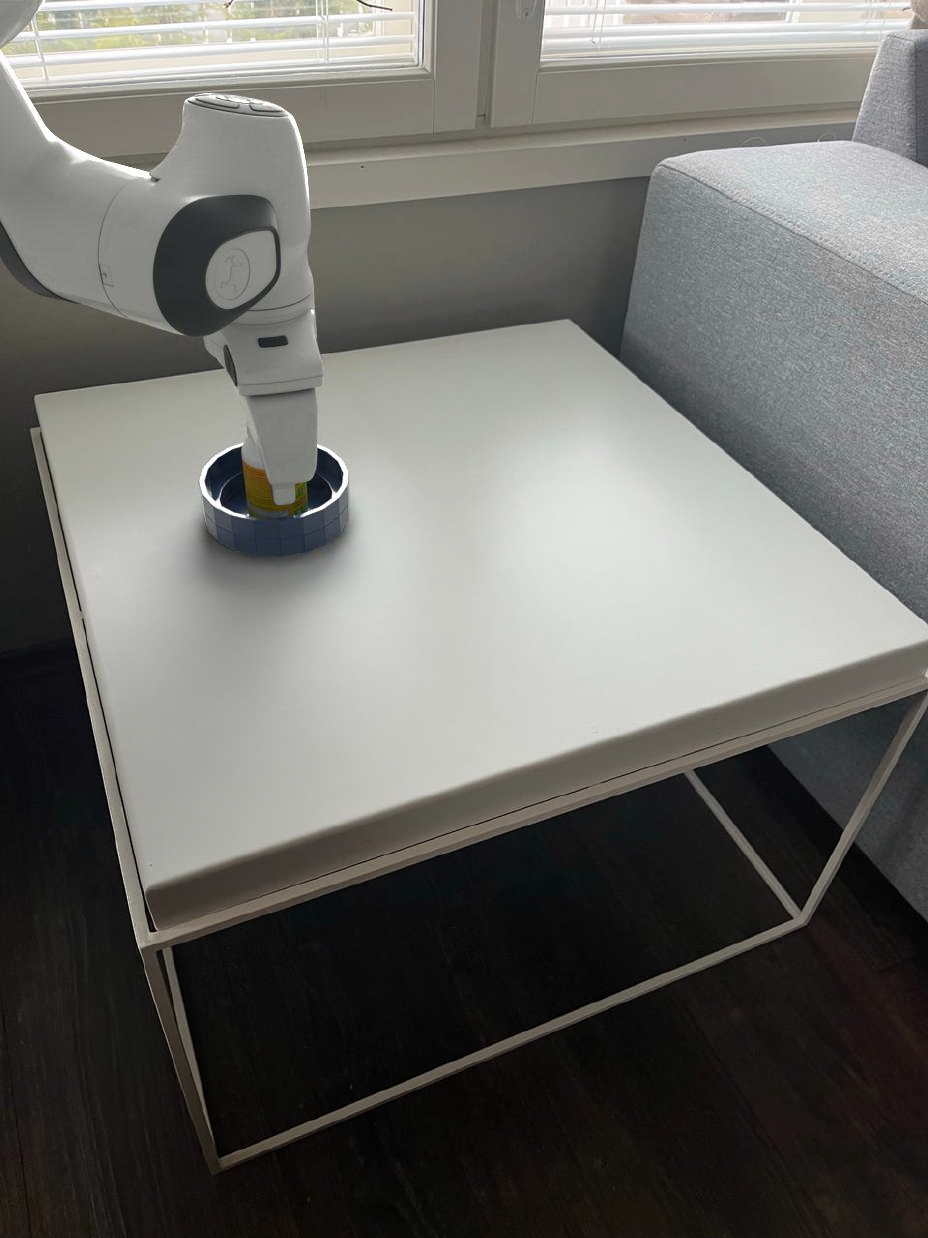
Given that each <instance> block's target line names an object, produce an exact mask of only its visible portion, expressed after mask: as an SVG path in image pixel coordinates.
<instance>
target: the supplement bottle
mask: <svg viewBox="0 0 928 1238" xmlns="http://www.w3.org/2000/svg"><path fill="white" fill-rule="evenodd" d="M245 423H246V434H247V437H246V438H245V439H244V441H243V442H242V443H243V445H242V463H243V471H244V479H245V488H246V497H247V506H248V512H249V515H250V516H251V517H260V518H281V517H287V516H293V515H299V514H303V513H305V512H308V500H307V483H306V482H302V483H296V484H295V497H296V499H295V501H294V502H293V503H291V504H286V505H276V504H275V502H274V499H273V496H272V493H271V485H270V483H269V481H268V479H267V476H266V473H265V470H264V467H263V465H262V462H261V459H260V456H259V454H258V451H257V448H256V445H255V443H254V440H253V437H252V435H251V432H250V429H249V426H248V424H247V421H246V420H245Z"/></svg>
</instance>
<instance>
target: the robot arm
mask: <svg viewBox="0 0 928 1238" xmlns="http://www.w3.org/2000/svg"><path fill="white" fill-rule="evenodd" d="M45 2H46V0H0V259H1V261H2V263H3V264H4V266H5V268H6V269H7V270H8V272H9V273H10V274H11V276H12V277H13V278H14V279H15V280H16V281H17V282H18V283H19V284H20V285H21V286H23V287H24V288H25V289H27V290H29V291H30V292H32V293H34V294H36V295H38V296H41V297H44V298H49V299H53V300H58V301H61V302H67V303H71V304H75V305H76V304H77V305H84V306H86V307H89V308H93V309H95V310H99V311H101V312H105V313H107V314H110V315H114V316H117V317H119V318H123V319H126V320H127V321H128V320H129V321H132V322H137V323H140V324H143V325H146V326H149V327H152V328H156V329H159V330H163V331H165V332H169V333H172V334H175V335H181V336H185V337H186V336H187V337H190V338H191V337H192V338H202V339H203V345H204V348H205V349H206V351H207V352H208V353H209V354H210V355H211V356H213V357H214V358H215V359H217V362H218V363H219V364H220V365H221V366H222V367H223V369H224V370H225V371H226V372H227V373H228V375H229V378H230V380H231V383H232V386H233V388H234V391H235V394H236V396H237V399H238V402H239V405H240V407H241V409H242V412H243V415H244V418H245V422H246V421H247V424H248V426H249V429H250V432H251V435H252V437H253V440H254V443H255V445H256V448H257V451H258V454H259V456H260V459H261V462H262V465H263V467H264V470H265V473H266V476H267V479H268V481H269V483H270V485H271V493H272V496H273V499H274V502H275V504H276V505H286V504H291V503H293V502H294V501H295V499H296V497H295V484H296V483H302V482H307V481H310V480H311V479H312V478H313V476H314V473H315V470H316V465H317V444H318V440H319V439H318V436H319V435H318V434H319V416H318V415H319V408H318V406H319V405H318V396H317V390H316V388H321V387H323V386H324V382H325V373H324V372H325V371H324V363H323V359H322V358H323V357H322V354H321V350H320V347H319V343H318V333H317V332H318V330H317V317H316V316H317V315H316V308H315V307H316V305H315V303H316V302H315V283H314V276H313V273H312V269H311V267H310V265H309V259H308V246H309V241H310V238H311V232H312V219H311V218H312V217H311V202H310V201H311V200H310V189H309V188H310V187H309V179H308V172H307V165H306V158H305V152H304V148H303V147H304V146H303V142H302V138H301V134H300V132H299V128H298V125H297V123H296V120H295V118H294V116H293V115H292V114H291V113H290V112H288V111H287V110H286V109H284V108H283V107H282V106H280V105H278V104H277V103H275V102H270V101H267V100H263V99H259V98H258V99H257V98H254V97H249V96H245V95H233V94H231V93H221V92H220V93H217V92H216V93H215V92H210V93H209V92H207V93H206V92H205V93H199V94H195V95H194V96H191V97H189V98H187V99H185V101H184V103H183V106H182V107H183V108H182V117H181V130H180V133H179V135H178V138H177V139H176V142H175V143H174V144H173V146H172V148H171V150H170V151H169V152H168V153H167V155H166V156H165V158H163V160H162V161H161V162H160V163H159V164H157V165H156V166H155V167H154V168H153V169H150V170H149V171H144V170H141V169H137V168H134V167H129V166H126V165H123V164H119V163H115V162H112V161H107V160H105V159H101V158H100V157H99V158H98V157H96V156H93V155H92V154H88V153H87V152H84V151H82V150H80V149H78V148H77V147H74V146H72V145H70V144H69V143H67V142H65V141H63V140H62V139H60V138H59V137H57V136H56V135H54V133H52V132H51V131H50V129H49V128H48V127H47V126H46V125H45V122H44V121H43V119H42V118H41V116H40V114H39V112H38V111H37V109H36V108H35V106H34V104H33V103H32V101H31V99H30V98H29V96H28V94H27V92H26V90H25V89H24V88H23V86H22V84H21V82H20V81H19V79H18V77H17V76H16V73H15V72H14V70H13V69H12V67H11V66H10V64H9V62H8V60H7V59H6V57H5V56H4V53H3V52H2V49H3V48H4V47H5V46H7V45H8V44H9V43H10V42H12V41H13V40H14V39H15V38H16V37H17V36H18V35H19V34H20V33H21V32H22V31H23V30H24V29H25V28H26V27H27V26H28V25H29V24H30V23H31V21H32V20H33V19H34V18H35V16H36V15H37V13H38V12H39V11H40V10H41V8H42V6H43V5H44V3H45Z"/></svg>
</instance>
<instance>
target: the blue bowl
mask: <svg viewBox="0 0 928 1238" xmlns="http://www.w3.org/2000/svg"><path fill="white" fill-rule="evenodd" d="M242 445H243V442H241V443H238V444H234V445H231V446H229V447H227V448H225V449H224V450H222V451H220V452H219V453H217V454H215V455H214V456H212V457H211V458H210V460H209V461H208V462H207V463H206V464H205V465H204V466H203V467H202V469H201V471H200V472H201V473H200V476H199V479H198V489H199V494H200V500H201V507H202V513H203V518H204V522H205V526H206V530H207V531H208V532H209V534H210V535H211V536H212V537H213V538H214V539H215V540H216V541H217V542H218V543H219V544H221V545H223V546H225V547H227V548H229V549H230V550H232V551H234V552H237V553H240V554H245V555H250V556H253V557H258V558H261V557H262V558H263V557H264V558H284V557H290V556H295V555H301V554H307V553H309V552H312V551H314V550H317V549H319V548H322V547H324V546H326V545H327V544H329V542H331V541H332V540H334V539H335V538H337V537H338V536H339V535H340V534H341V533H342V531H343V530H344V528H345V527H346V526H347V524H348V522H349V521H350V520H349V519H350V511H351V510H350V509H351V499H350V497H351V496H350V495H351V494H350V473H349V470H348V468H347V466H346V464H345V462H344V460H343V459H342V458H341V457H340V456H339V455H337V454H336V453H335V452H334V451H332V450H331V449H330V448H327V447H326V446H324V445H323V446H322V445H321V444H318V443H317V465H316V470H315V473H314V476H313V478H312V479H311V480H310V481H307V482H306V483H307V500H308V512H305V513H303V514H299V515H293V516H287V517H281V518H260V517H251V516H250V515H249V512H248V506H247V497H246V488H245V479H244V471H243V463H242Z"/></svg>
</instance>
